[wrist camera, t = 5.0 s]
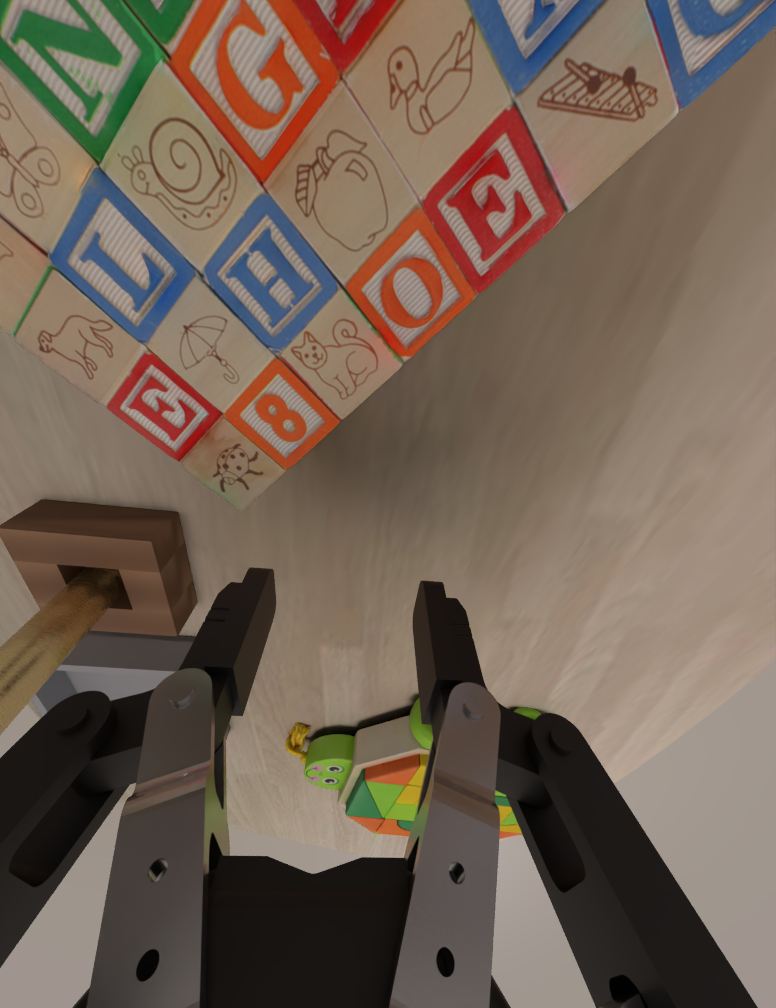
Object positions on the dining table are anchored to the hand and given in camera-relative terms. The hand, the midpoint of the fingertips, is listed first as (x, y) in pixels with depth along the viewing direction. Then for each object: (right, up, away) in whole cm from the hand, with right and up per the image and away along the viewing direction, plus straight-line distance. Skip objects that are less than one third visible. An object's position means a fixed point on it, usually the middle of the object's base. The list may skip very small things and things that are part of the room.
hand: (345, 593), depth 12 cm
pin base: (-16, 0, +12) cm, 20 cm away
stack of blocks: (+3, +10, +2) cm, 11 cm away
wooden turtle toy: (+5, -24, +27) cm, 36 cm away
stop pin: (-16, 0, +12) cm, 20 cm away
